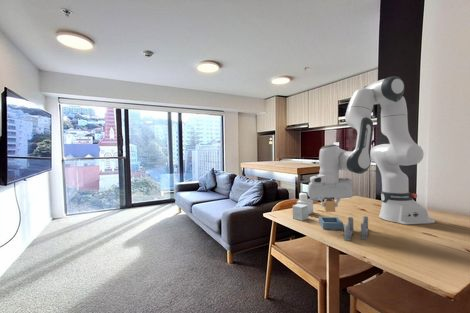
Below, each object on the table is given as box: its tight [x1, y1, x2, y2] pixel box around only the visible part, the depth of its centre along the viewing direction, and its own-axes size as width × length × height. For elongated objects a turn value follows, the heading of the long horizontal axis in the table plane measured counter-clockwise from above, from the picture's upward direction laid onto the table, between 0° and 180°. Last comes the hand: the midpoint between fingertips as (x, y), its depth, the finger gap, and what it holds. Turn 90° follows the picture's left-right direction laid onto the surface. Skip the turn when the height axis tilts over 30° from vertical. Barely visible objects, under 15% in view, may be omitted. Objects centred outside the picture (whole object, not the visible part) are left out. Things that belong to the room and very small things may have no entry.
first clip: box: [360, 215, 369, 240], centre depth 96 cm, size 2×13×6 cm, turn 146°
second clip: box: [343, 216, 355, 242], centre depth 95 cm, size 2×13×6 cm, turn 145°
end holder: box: [318, 216, 344, 231], centre depth 107 cm, size 9×9×3 cm
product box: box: [292, 203, 309, 222], centre depth 120 cm, size 6×6×7 cm
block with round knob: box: [323, 198, 336, 213], centre depth 106 cm, size 4×4×6 cm
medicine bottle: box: [296, 191, 314, 216], centre depth 130 cm, size 7×7×12 cm
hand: (329, 206), depth 106 cm, fingers closed on block with round knob, 4 cm apart
